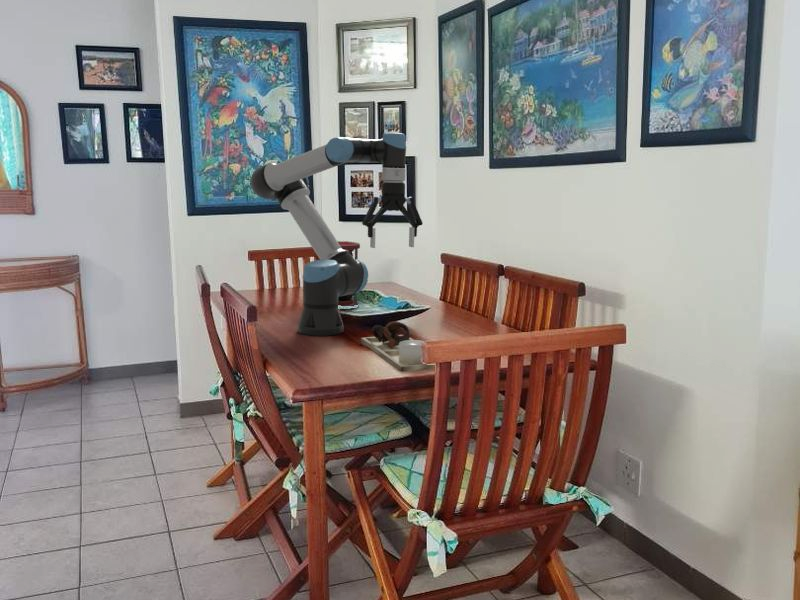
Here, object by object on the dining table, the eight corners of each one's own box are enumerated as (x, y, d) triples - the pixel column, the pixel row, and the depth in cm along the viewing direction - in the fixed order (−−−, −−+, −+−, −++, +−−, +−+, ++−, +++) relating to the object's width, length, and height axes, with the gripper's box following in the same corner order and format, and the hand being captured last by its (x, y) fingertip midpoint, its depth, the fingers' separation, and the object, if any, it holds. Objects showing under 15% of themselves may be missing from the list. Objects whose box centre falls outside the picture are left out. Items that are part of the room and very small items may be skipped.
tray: (401, 374, 197) (401, 367, 197) (360, 343, 229) (361, 337, 229) (451, 369, 202) (452, 362, 202) (405, 340, 235) (405, 334, 234)
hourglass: (328, 301, 298) (328, 240, 294) (365, 304, 293) (365, 242, 289) (311, 308, 283) (311, 244, 279) (350, 311, 278) (350, 246, 274)
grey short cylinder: (405, 366, 202) (405, 348, 201) (394, 358, 210) (394, 341, 209) (435, 363, 205) (435, 346, 204) (422, 355, 214) (423, 339, 213)
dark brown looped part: (408, 343, 230) (414, 323, 225) (402, 362, 223) (408, 343, 218) (372, 331, 231) (376, 312, 225) (364, 351, 223) (369, 331, 218)
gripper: (360, 181, 229) (359, 249, 233) (433, 182, 238) (431, 247, 242) (353, 181, 236) (352, 246, 239) (424, 182, 245) (422, 245, 248)
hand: (392, 247), depth 241 cm, fingers open, 13 cm apart
